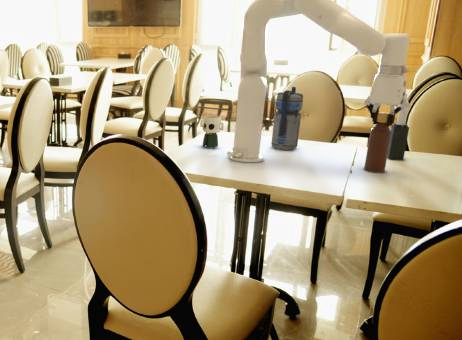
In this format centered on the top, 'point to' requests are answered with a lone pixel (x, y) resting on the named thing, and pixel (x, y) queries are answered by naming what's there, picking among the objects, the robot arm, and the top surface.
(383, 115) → the cap
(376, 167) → the sauce bottle
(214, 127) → the toy figurine
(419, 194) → the top surface
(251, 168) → the top surface
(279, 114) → the beverage bottle
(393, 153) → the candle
